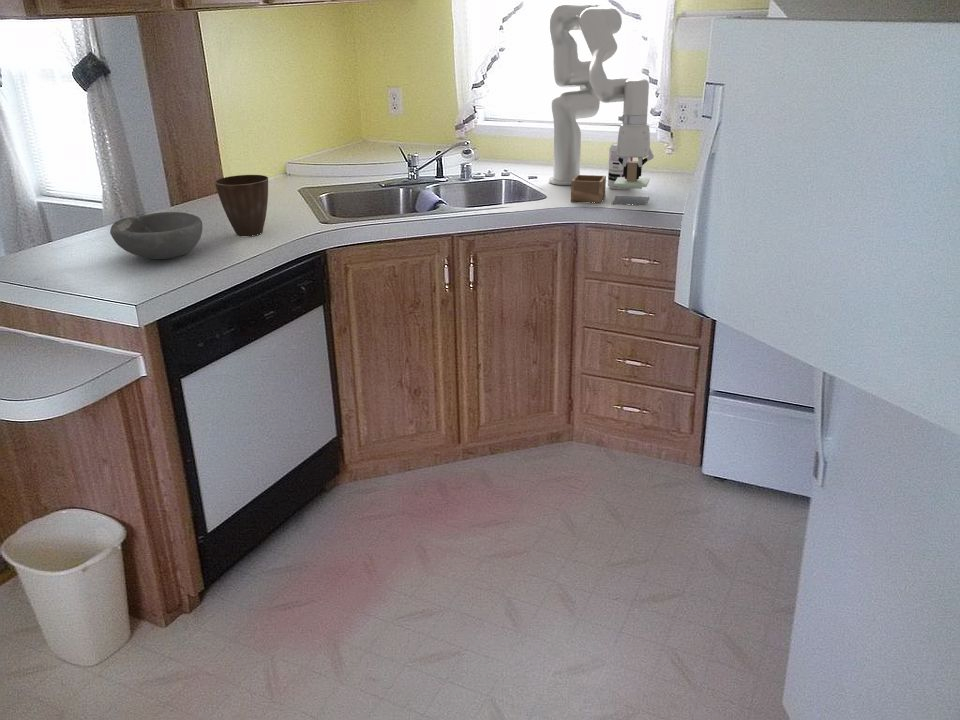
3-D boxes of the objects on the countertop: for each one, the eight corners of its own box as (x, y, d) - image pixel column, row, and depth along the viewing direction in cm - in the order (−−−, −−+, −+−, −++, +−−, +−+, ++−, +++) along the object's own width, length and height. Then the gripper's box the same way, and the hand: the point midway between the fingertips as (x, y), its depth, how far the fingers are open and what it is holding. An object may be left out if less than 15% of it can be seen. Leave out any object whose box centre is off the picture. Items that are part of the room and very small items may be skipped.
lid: (617, 182, 272) (618, 158, 269) (649, 183, 269) (650, 159, 266) (613, 189, 263) (614, 164, 260) (646, 190, 260) (647, 165, 257)
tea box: (575, 195, 277) (576, 174, 275) (605, 196, 275) (606, 175, 272) (570, 202, 269) (571, 180, 266) (601, 203, 266) (601, 182, 263)
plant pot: (212, 238, 237) (203, 183, 230) (242, 225, 250) (235, 173, 243) (256, 242, 232) (248, 186, 225) (284, 229, 245) (278, 175, 238)
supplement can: (630, 185, 291) (632, 142, 285) (631, 190, 283) (634, 146, 277) (607, 185, 291) (609, 142, 285) (608, 190, 284) (610, 146, 278)
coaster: (615, 196, 274) (615, 195, 274) (648, 198, 272) (648, 196, 271) (611, 204, 265) (611, 203, 265) (645, 205, 262) (645, 204, 262)
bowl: (143, 275, 206) (136, 236, 202) (102, 259, 220) (94, 222, 216) (223, 254, 222) (217, 218, 218) (180, 240, 235) (174, 206, 231)
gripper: (607, 121, 256) (605, 180, 264) (660, 122, 252) (656, 181, 260) (610, 118, 263) (608, 175, 270) (662, 118, 259) (658, 177, 266)
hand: (632, 178), depth 265 cm, fingers closed on lid, 3 cm apart
